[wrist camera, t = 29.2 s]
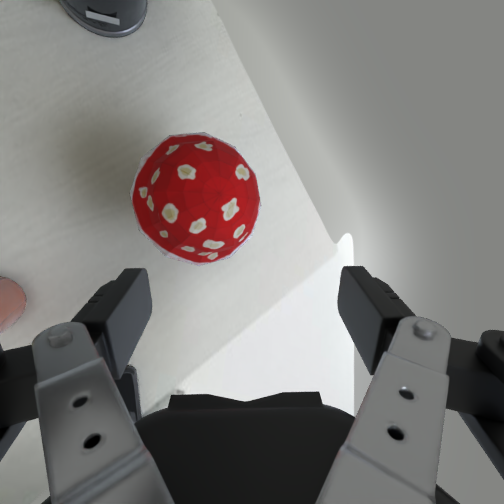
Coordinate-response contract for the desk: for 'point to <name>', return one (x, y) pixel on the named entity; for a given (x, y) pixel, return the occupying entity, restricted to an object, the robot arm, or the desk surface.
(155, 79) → the desk surface
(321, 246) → the desk surface
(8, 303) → the pencil cup
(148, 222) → the decorative mushroom
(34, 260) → the desk surface
